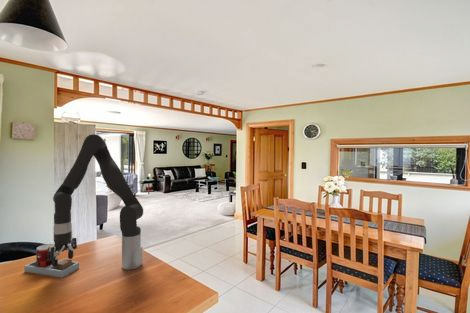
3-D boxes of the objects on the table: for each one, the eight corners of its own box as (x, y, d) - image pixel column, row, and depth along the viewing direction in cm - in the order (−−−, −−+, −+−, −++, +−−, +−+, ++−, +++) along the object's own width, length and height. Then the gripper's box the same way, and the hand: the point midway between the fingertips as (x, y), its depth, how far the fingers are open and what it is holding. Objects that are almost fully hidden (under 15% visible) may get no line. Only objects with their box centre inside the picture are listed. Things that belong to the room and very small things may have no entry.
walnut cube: (71, 269, 125) (71, 260, 125) (63, 274, 120) (62, 264, 120) (64, 268, 126) (63, 258, 126) (54, 273, 121) (54, 263, 121)
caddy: (82, 266, 128) (82, 260, 128) (62, 277, 117) (62, 271, 117) (47, 261, 133) (46, 255, 133) (24, 271, 122) (24, 265, 122)
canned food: (39, 265, 129) (39, 244, 128) (57, 262, 132) (57, 242, 131) (34, 272, 122) (33, 250, 121) (53, 269, 125) (53, 248, 124)
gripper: (69, 225, 130) (69, 255, 130) (42, 235, 116) (43, 268, 117) (80, 227, 128) (81, 257, 129) (55, 236, 114) (56, 270, 115)
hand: (63, 262), depth 123 cm, fingers open, 8 cm apart
